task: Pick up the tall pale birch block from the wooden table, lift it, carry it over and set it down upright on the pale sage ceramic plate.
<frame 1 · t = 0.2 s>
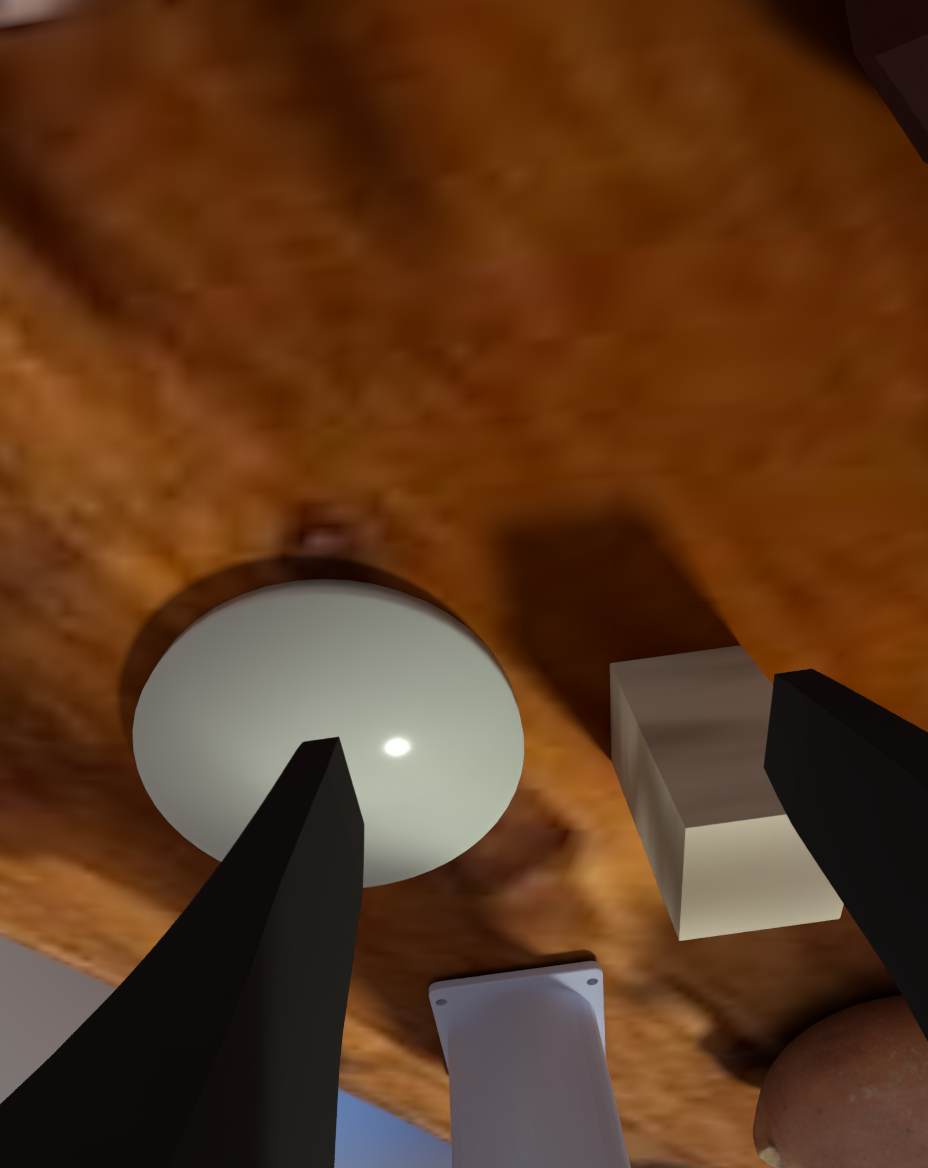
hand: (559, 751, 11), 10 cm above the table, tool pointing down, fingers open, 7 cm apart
plate: (337, 742, 23), on the table
ceramic jug: (876, 1034, 35), on the table
block: (673, 705, 23), on the table
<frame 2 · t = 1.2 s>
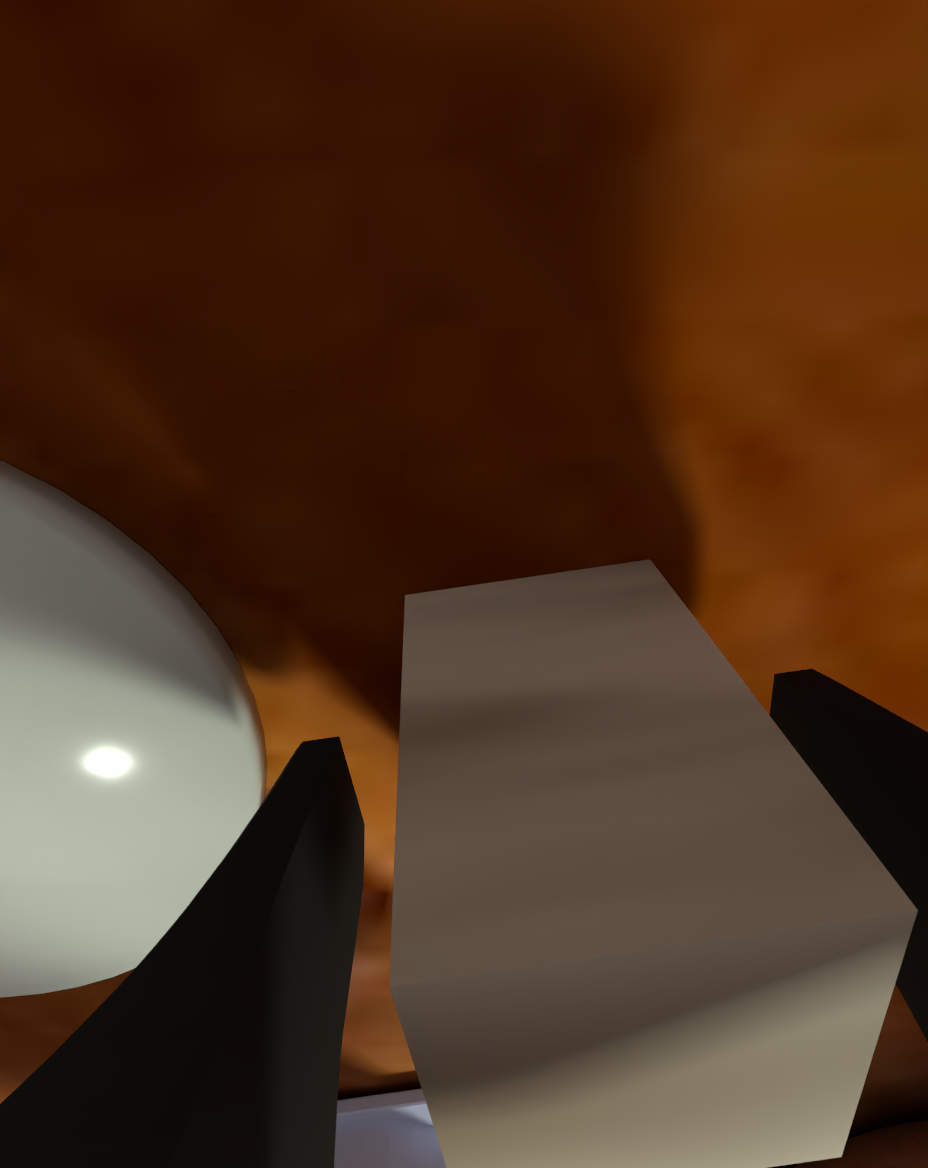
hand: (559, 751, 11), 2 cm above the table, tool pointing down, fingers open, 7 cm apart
ceramic jug: (899, 1161, 24), on the table
block: (536, 677, 13), on the table
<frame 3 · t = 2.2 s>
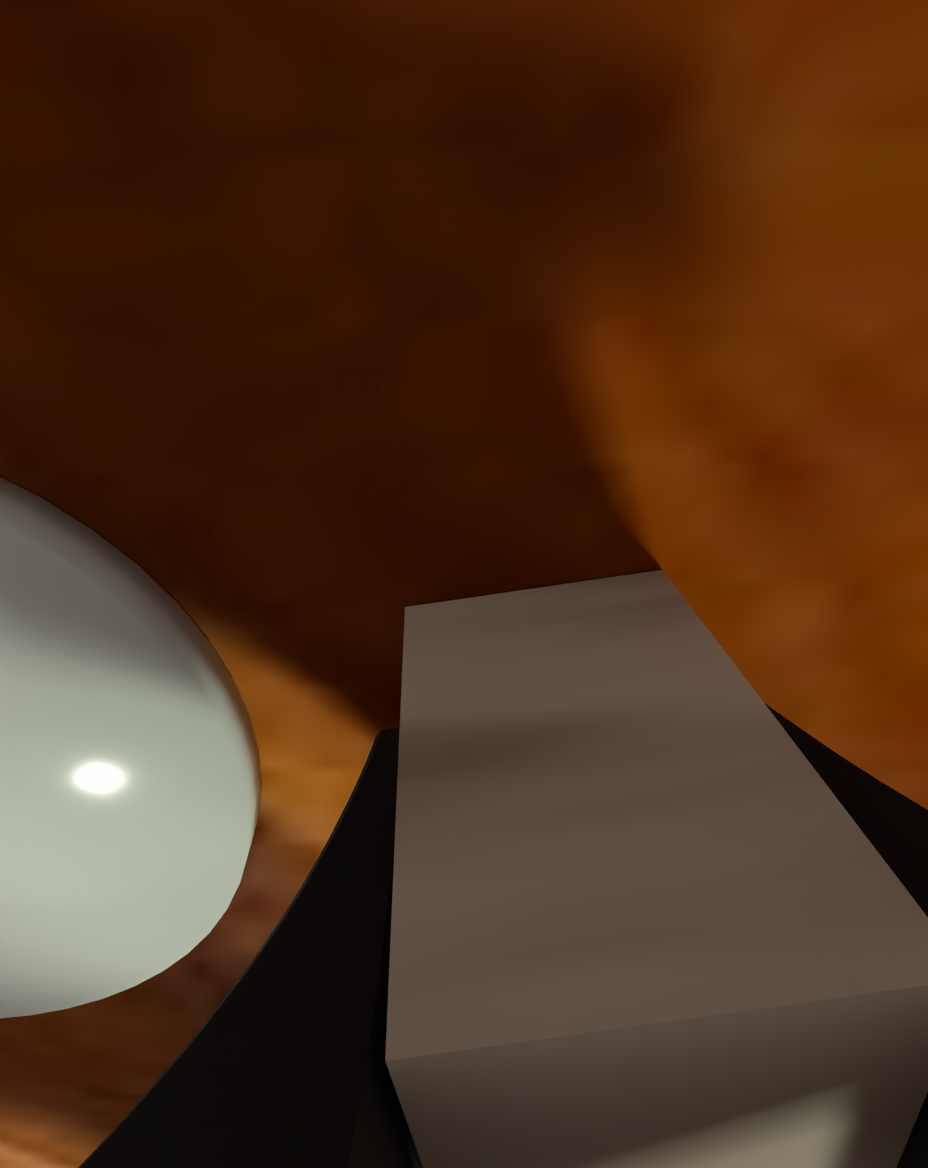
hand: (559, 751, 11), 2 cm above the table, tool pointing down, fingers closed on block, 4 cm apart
block: (542, 692, 12), on the table, touching gripper
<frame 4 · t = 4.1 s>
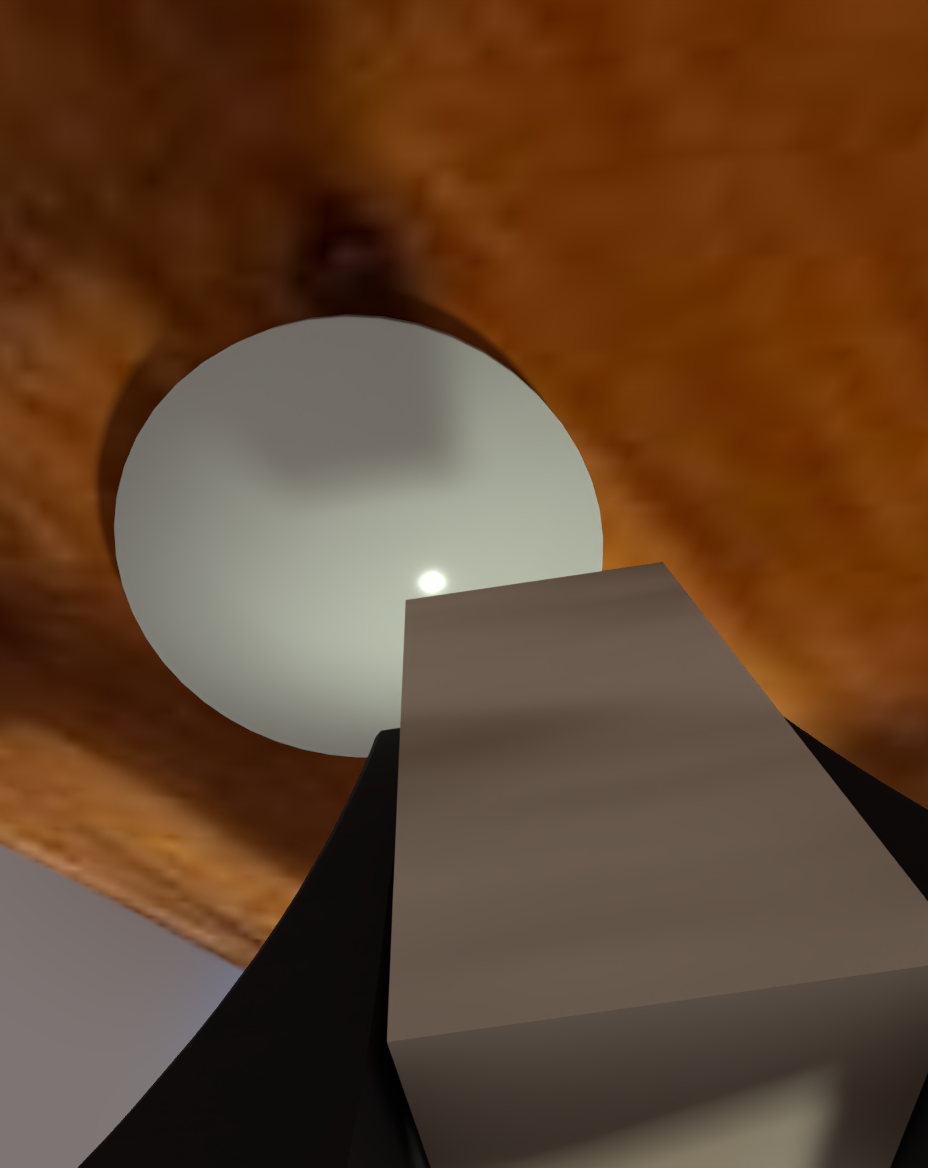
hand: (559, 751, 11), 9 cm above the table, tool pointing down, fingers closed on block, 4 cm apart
plate: (369, 560, 18), on the table
block: (543, 685, 12), point 7 cm above the table, touching gripper
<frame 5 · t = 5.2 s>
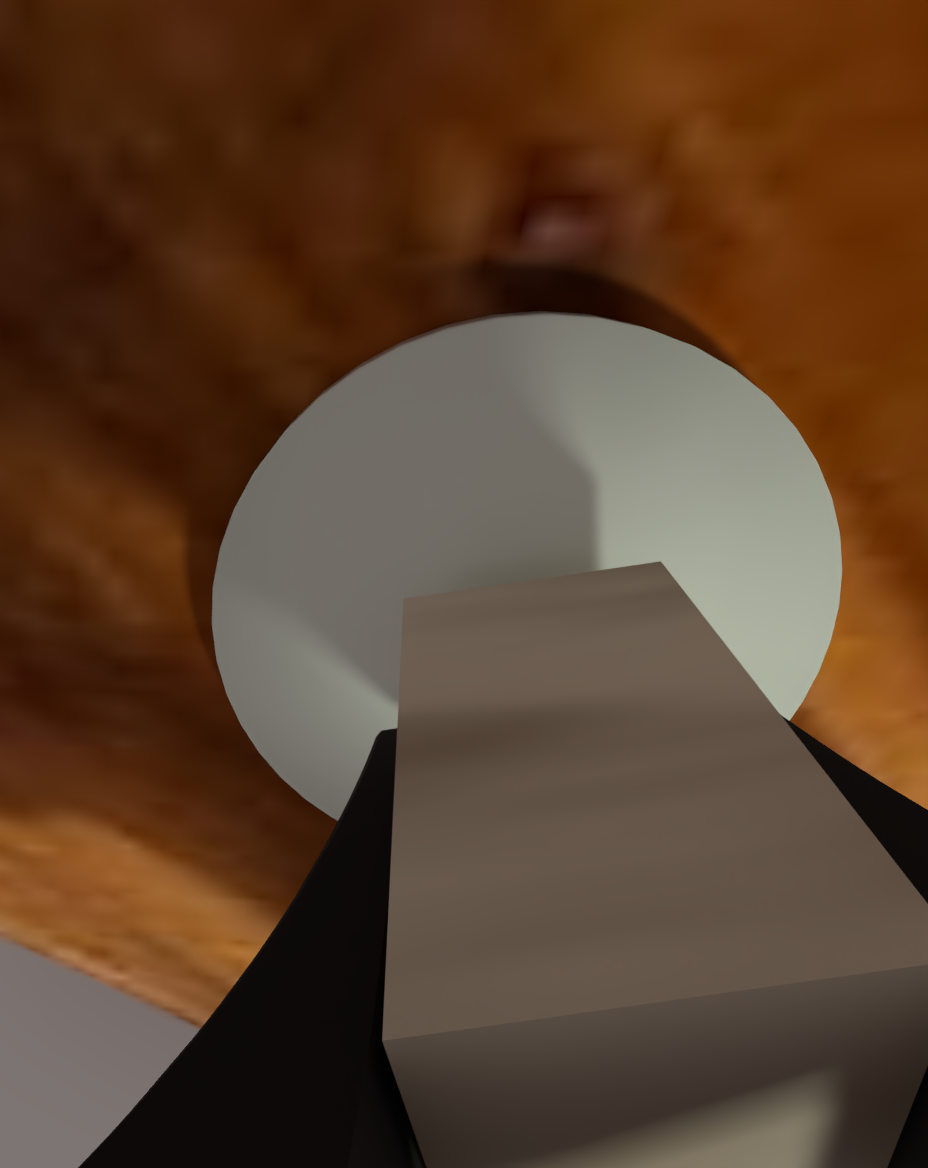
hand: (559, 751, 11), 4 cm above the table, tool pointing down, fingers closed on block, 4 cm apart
plate: (524, 625, 14), on the table
block: (541, 684, 12), point 2 cm above the table, touching gripper
when the fingers open (4 cm above the table, at t = 6.2 s): block stays where it is, resting on plate.
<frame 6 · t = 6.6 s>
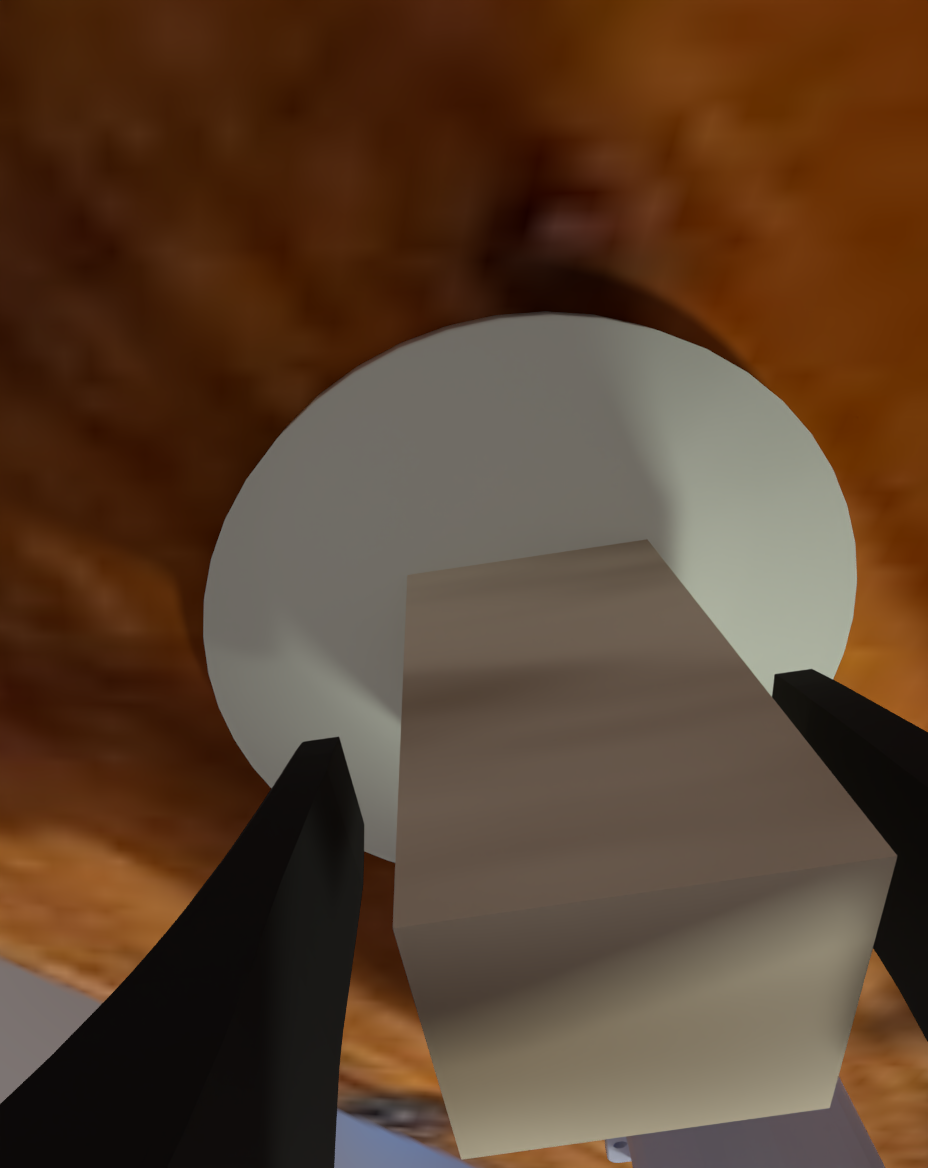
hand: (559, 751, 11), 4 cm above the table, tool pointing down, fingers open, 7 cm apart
plate: (527, 636, 14), on the table
block: (536, 656, 13), point 1 cm above the table, touching plate
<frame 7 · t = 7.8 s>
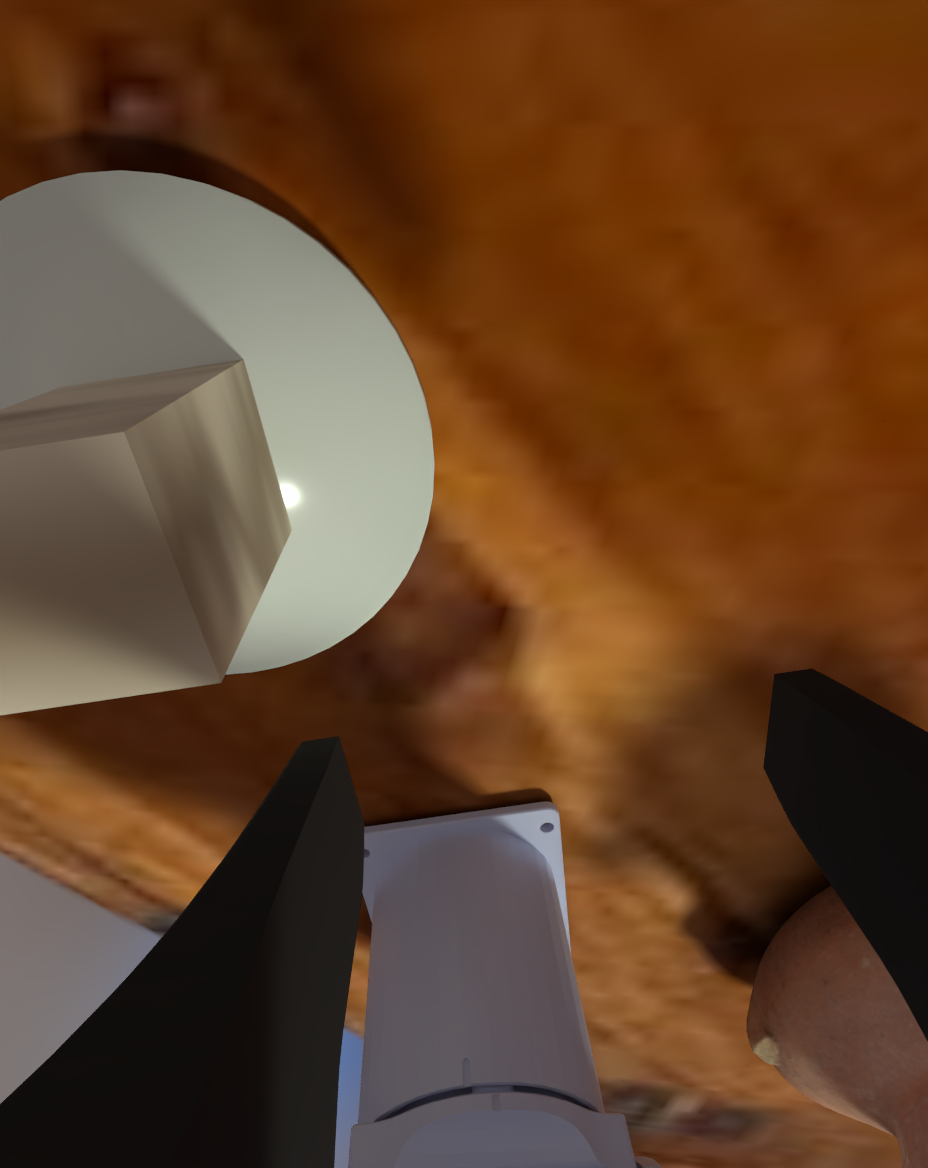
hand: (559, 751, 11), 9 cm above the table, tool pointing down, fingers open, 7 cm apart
plate: (195, 457, 17), on the table
ceramic jug: (892, 917, 29), on the table
block: (183, 462, 16), point 1 cm above the table, touching plate
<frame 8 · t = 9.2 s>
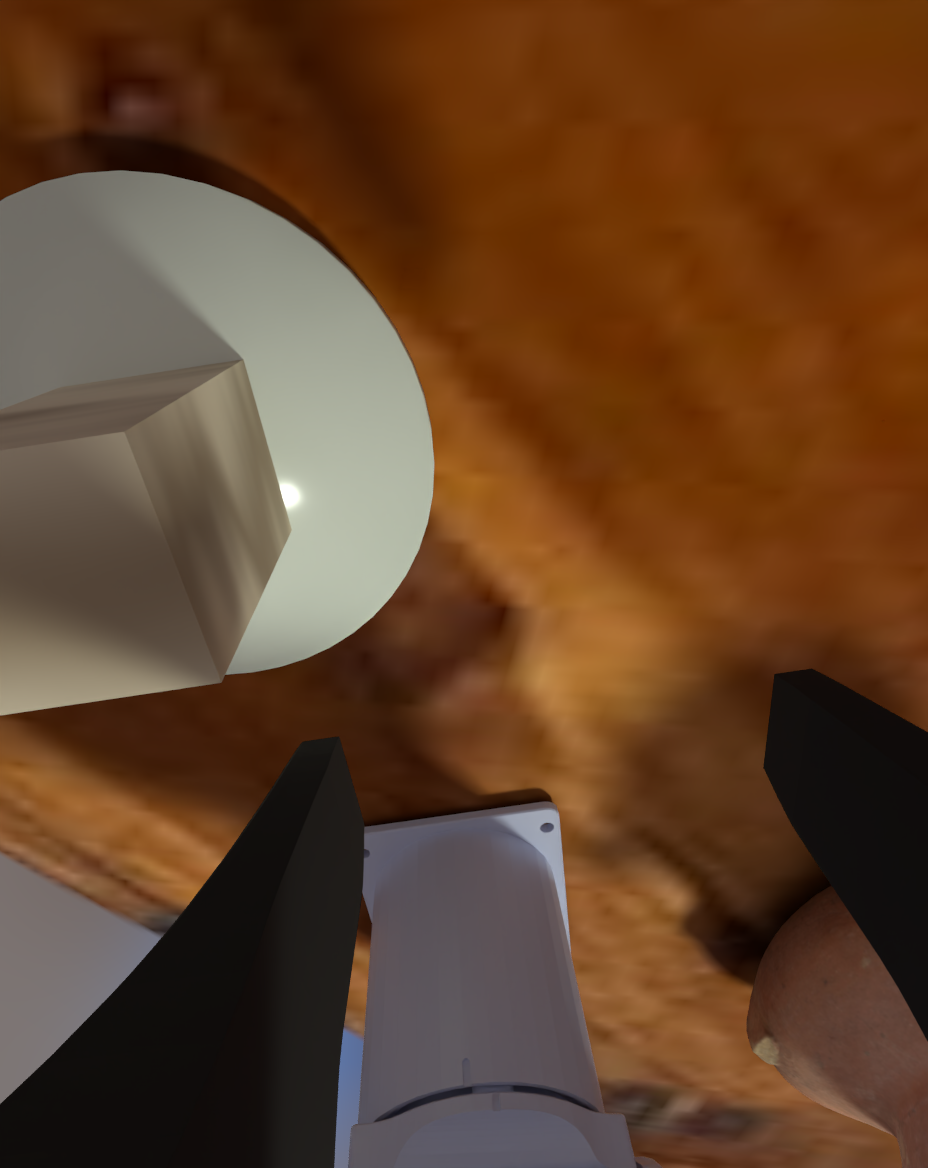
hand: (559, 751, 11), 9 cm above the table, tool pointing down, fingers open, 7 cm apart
plate: (195, 457, 17), on the table
ceramic jug: (892, 917, 29), on the table
block: (183, 463, 16), point 1 cm above the table, touching plate
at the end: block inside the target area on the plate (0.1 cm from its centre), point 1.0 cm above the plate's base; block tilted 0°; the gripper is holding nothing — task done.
